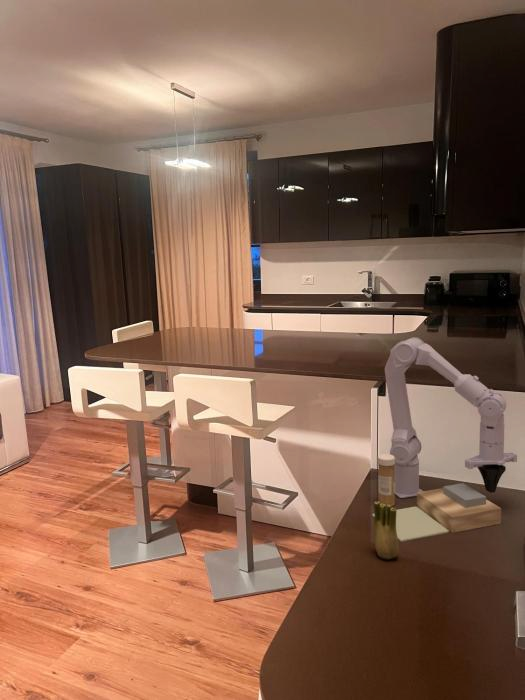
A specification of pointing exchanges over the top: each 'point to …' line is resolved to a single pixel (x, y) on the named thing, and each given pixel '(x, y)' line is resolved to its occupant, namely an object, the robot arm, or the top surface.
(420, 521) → the mat
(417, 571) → the top surface
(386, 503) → the sprinkles bottle
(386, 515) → the fennel bulb
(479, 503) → the grey rectangular block
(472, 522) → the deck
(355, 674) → the top surface
